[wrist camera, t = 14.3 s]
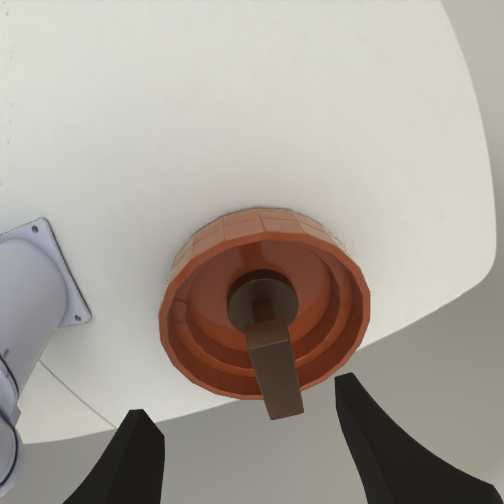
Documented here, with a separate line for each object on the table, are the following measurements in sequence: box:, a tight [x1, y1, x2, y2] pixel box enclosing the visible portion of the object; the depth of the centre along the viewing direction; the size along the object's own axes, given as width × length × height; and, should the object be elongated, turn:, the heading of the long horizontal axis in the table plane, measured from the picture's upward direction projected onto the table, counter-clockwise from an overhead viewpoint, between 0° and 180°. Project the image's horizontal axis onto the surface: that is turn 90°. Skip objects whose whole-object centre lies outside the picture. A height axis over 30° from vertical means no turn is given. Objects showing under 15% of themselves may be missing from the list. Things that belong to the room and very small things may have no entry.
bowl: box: [158, 208, 370, 400], centre depth 19 cm, size 12×12×4 cm
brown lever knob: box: [227, 269, 304, 420], centre depth 17 cm, size 4×6×7 cm
